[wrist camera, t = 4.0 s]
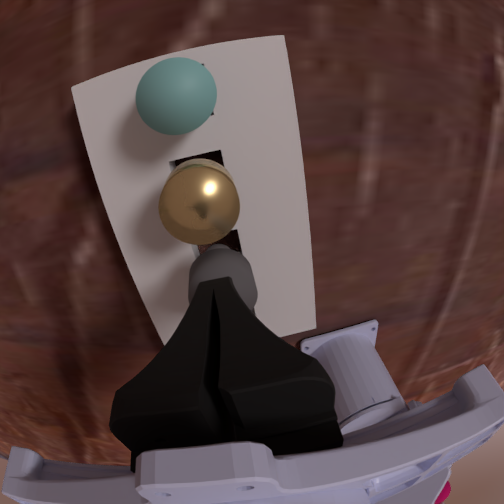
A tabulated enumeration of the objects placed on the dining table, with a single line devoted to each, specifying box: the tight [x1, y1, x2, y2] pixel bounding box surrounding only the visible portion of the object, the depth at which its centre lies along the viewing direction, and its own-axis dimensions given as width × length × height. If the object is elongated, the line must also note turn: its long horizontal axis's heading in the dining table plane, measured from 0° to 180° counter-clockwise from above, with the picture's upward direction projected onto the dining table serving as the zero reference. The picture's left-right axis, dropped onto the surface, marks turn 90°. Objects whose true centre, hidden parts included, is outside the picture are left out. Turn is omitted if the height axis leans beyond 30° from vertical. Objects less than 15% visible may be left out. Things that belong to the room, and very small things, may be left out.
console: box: [71, 35, 316, 346], centre depth 20 cm, size 21×12×2 cm, turn 10°
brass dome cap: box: [158, 159, 240, 245], centre depth 15 cm, size 4×4×4 cm
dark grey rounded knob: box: [188, 244, 258, 310], centre depth 18 cm, size 4×4×4 cm
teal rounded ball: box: [136, 57, 217, 135], centre depth 14 cm, size 4×4×4 cm
